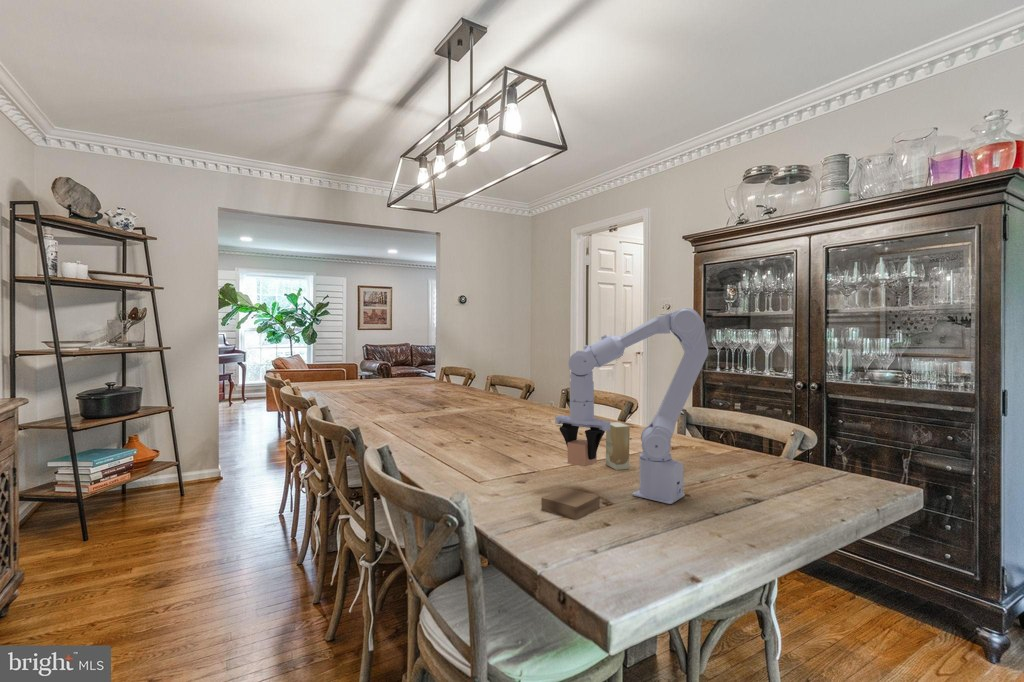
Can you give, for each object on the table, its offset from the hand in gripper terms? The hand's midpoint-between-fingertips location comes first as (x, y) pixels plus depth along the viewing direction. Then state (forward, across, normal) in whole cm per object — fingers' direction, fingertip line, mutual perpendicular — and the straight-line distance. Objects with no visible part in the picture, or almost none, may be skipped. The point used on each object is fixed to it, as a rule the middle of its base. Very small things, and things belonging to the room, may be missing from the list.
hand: (582, 456), depth 118 cm
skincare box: (+8, +4, -24) cm, 26 cm away
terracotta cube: (+1, 0, 0) cm, 1 cm away
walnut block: (+9, -5, +12) cm, 16 cm away
